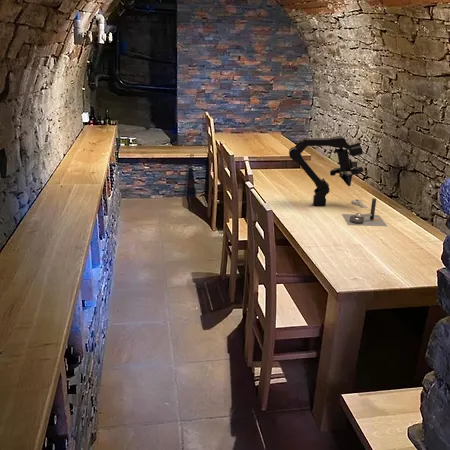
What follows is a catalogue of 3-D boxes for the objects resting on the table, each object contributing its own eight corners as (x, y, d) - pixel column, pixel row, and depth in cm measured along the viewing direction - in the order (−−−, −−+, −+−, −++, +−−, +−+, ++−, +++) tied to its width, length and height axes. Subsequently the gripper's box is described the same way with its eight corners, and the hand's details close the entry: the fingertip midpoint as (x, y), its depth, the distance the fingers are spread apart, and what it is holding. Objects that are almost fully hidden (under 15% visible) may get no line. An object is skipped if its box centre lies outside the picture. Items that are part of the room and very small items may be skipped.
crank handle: (347, 220, 254) (349, 199, 250) (360, 215, 263) (363, 195, 259) (361, 225, 249) (363, 203, 245) (374, 219, 257) (377, 198, 253)
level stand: (347, 226, 250) (348, 224, 249) (341, 215, 265) (341, 213, 265) (387, 228, 249) (387, 225, 249) (378, 216, 265) (378, 214, 265)
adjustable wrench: (376, 216, 268) (377, 213, 267) (365, 216, 267) (365, 213, 266) (359, 201, 291) (360, 198, 290) (349, 201, 290) (349, 199, 289)
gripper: (366, 153, 266) (372, 180, 271) (338, 155, 281) (344, 181, 285) (354, 159, 260) (360, 187, 264) (326, 161, 275) (332, 188, 279)
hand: (349, 186), depth 273 cm, fingers closed
